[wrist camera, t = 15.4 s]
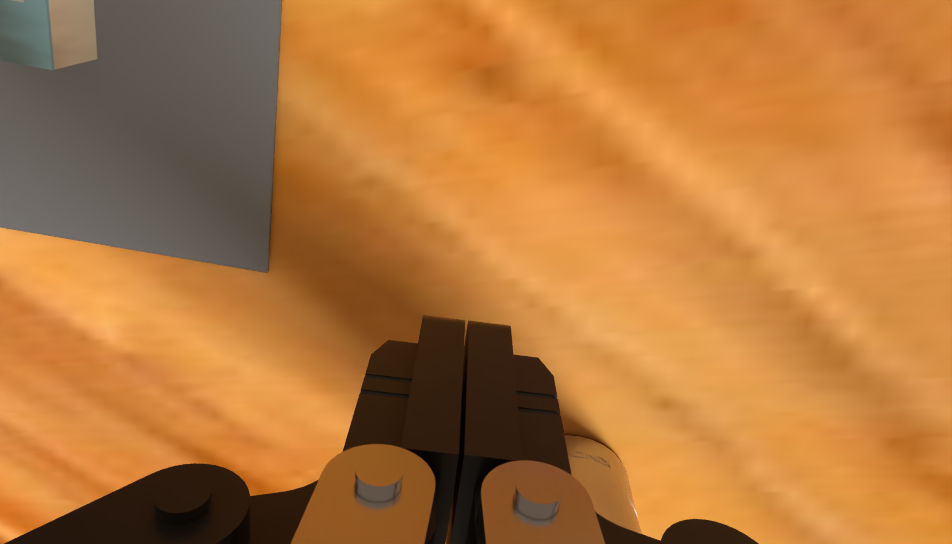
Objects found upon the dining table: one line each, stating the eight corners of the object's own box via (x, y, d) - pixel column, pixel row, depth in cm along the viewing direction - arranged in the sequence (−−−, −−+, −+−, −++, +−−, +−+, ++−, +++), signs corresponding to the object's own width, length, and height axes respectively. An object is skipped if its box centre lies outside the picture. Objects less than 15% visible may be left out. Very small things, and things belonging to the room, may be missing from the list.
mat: (268, 270, 41) (266, 272, 41) (-49, 216, 40) (-53, 218, 40) (289, -142, 32) (287, -143, 31) (-123, -225, 31) (-128, -227, 31)
